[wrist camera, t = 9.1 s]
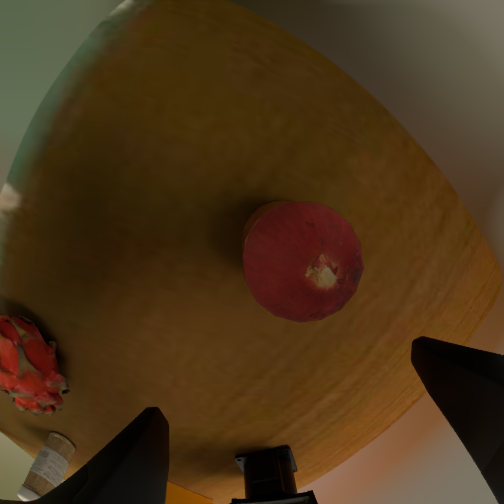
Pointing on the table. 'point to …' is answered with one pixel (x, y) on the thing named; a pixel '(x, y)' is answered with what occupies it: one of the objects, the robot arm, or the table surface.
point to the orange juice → (183, 496)
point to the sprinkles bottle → (47, 468)
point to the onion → (302, 261)
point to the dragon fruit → (29, 367)
